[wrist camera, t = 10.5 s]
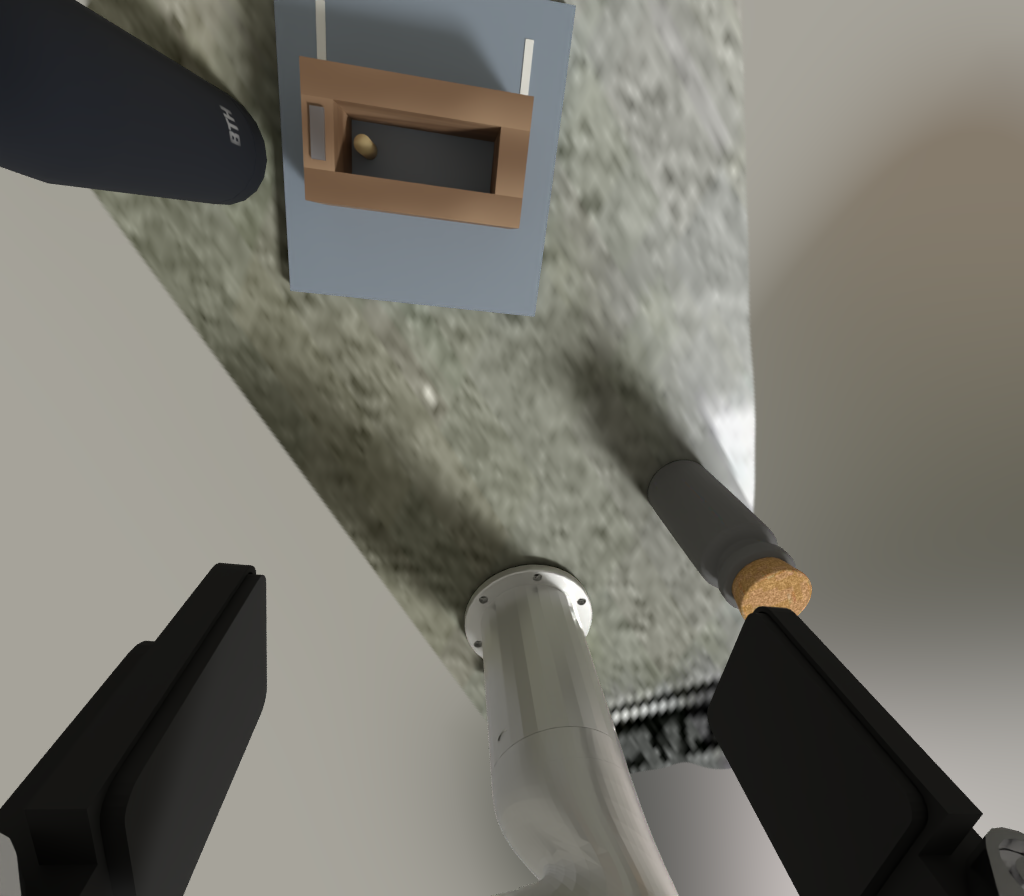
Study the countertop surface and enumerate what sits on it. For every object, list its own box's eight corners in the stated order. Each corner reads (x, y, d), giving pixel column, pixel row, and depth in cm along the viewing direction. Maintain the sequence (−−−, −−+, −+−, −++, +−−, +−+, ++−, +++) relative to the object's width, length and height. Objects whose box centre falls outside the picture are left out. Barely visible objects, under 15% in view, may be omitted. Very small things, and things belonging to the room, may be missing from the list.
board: (532, 314, 37) (540, 322, 34) (295, 288, 34) (278, 294, 31) (571, 14, 30) (586, -14, 26) (277, -45, 27) (253, -84, 24)
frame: (510, 229, 33) (519, 228, 29) (326, 204, 31) (304, 199, 27) (522, 116, 31) (534, 95, 26) (323, 83, 29) (297, 54, 24)
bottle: (647, 463, 43) (737, 569, 30) (711, 455, 44) (829, 556, 30) (646, 519, 46) (728, 641, 32) (706, 511, 46) (813, 628, 32)
